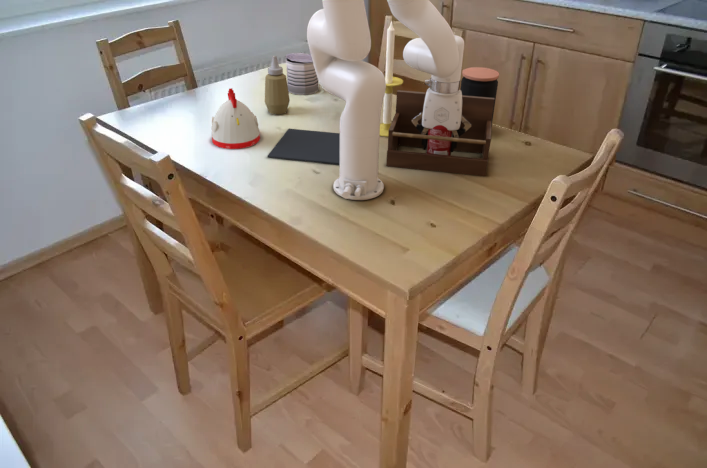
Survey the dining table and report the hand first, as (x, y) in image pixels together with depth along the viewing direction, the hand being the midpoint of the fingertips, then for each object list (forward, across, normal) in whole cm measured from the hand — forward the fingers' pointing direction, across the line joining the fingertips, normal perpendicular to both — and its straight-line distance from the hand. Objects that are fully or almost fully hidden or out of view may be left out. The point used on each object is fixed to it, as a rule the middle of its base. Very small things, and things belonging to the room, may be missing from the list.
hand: (438, 148), depth 160 cm
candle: (+3, -17, +17) cm, 24 cm away
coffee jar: (+3, +9, +23) cm, 25 cm away
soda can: (+3, 0, 0) cm, 3 cm away
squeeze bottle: (+3, -54, +24) cm, 59 cm away
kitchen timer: (+3, -59, 0) cm, 59 cm away
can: (+3, -52, +47) cm, 70 cm away
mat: (+3, -34, 0) cm, 34 cm away
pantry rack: (+3, 0, 0) cm, 3 cm away
